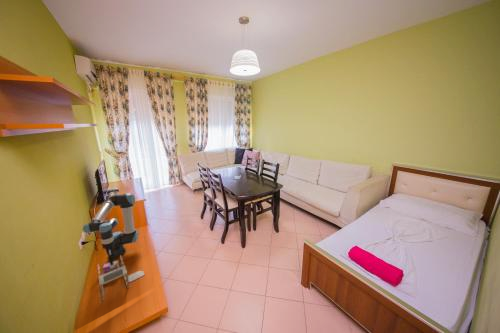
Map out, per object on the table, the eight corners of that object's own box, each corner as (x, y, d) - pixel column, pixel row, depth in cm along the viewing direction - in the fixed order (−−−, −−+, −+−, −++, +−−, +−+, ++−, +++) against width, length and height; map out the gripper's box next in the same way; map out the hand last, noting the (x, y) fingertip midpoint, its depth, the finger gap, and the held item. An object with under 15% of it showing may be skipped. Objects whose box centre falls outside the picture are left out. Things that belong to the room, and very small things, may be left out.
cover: (98, 277, 143) (97, 272, 142) (125, 266, 154) (124, 261, 154) (99, 285, 135) (98, 280, 134) (127, 273, 147) (126, 268, 146)
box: (104, 279, 157) (102, 268, 154) (106, 275, 162) (104, 263, 159) (118, 275, 161) (117, 264, 159) (119, 271, 166) (118, 260, 164)
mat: (127, 276, 160) (127, 276, 160) (142, 269, 168) (142, 269, 168) (129, 282, 153) (128, 282, 153) (144, 275, 161) (144, 274, 161)
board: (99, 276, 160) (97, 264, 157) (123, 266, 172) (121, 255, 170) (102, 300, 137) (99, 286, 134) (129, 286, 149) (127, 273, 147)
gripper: (101, 240, 144) (105, 265, 148) (102, 247, 135) (107, 274, 139) (112, 236, 149) (116, 261, 153) (114, 243, 140) (119, 269, 144)
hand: (112, 267), depth 146 cm, fingers closed
